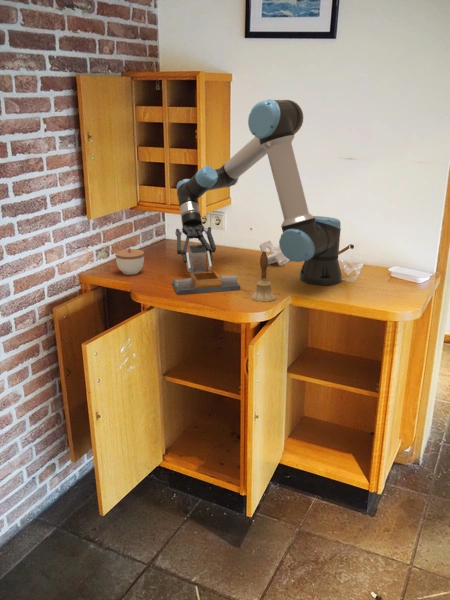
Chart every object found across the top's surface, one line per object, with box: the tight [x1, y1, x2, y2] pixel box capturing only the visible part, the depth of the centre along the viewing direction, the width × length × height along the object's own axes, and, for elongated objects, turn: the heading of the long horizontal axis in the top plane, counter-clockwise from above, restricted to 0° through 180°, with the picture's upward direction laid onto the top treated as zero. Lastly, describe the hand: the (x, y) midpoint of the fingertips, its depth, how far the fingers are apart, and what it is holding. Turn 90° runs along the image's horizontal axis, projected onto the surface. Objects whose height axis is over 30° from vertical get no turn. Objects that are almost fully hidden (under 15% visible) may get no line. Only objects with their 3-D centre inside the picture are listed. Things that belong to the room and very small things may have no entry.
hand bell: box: [250, 251, 277, 303], centre depth 185 cm, size 8×8×16 cm
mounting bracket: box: [259, 239, 291, 267], centre depth 226 cm, size 12×6×11 cm, turn 151°
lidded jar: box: [114, 247, 145, 276], centre depth 212 cm, size 11×11×9 cm
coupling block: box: [189, 244, 207, 275], centre depth 209 cm, size 5×5×11 cm
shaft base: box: [171, 271, 241, 296], centre depth 197 cm, size 22×12×4 cm, turn 104°
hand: (199, 268), depth 206 cm, fingers open, 7 cm apart
